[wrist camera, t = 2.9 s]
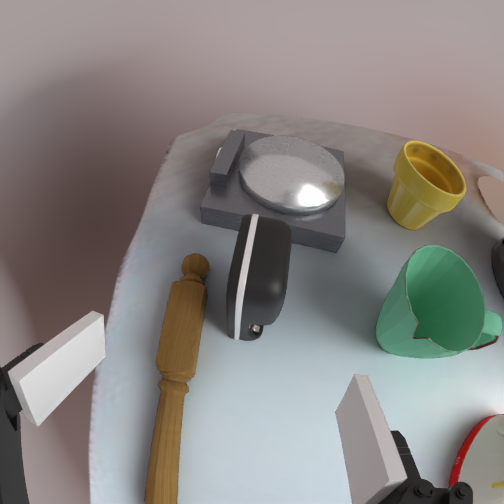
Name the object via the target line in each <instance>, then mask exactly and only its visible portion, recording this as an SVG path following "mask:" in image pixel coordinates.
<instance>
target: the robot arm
mask: <svg viewBox="0 0 504 504" xmlns="http://www.w3.org/2000/svg"><path fill="white" fill-rule="evenodd" d="M492 264H493V270H494V274H495V277H496V280H497V283H498V286H499V288H500V291H501V293H502V295H503V297H504V237H503V238H502V239H501V240H500V241H499V242H498V243H497V244H496V245H495V246H494V248H493V251H492ZM105 357H106V351H105V337H104V316H103V315H102V314H99V313H97V312H94V311H92V312H90V313H89V314H87V315H86V316H84V317H83V318H81V319H80V320H78V321H77V322H76V323H74V324H73V325H71V326H70V327H68V328H67V329H66V330H64V331H63V332H61V333H60V334H58V335H57V336H56V337H54V338H53V339H51V340H50V341H49V342H47V343H46V344H45V345H44V344H43V343H40V344H36V345H33V346H32V347H30V348H29V349H27V350H26V352H23V353H22V354H21V355H20V356H18V357H16V358H15V359H13V360H12V361H11V362H9V363H8V364H7V365H5V366H4V367H2V368H1V367H0V504H29V499H28V494H27V489H26V483H25V476H24V469H23V460H22V448H21V431H20V429H21V426H20V414H19V412H20V411H21V410H23V412H24V414H25V416H26V418H27V419H28V420H29V421H31V422H32V423H34V424H35V425H36V426H39V425H40V424H41V423H42V422H43V421H44V420H45V419H46V417H47V416H49V414H50V413H51V412H52V411H53V410H54V409H55V408H56V407H57V406H58V405H59V404H60V403H61V402H62V401H63V400H64V399H65V398H66V397H67V396H68V394H69V393H70V392H71V391H72V390H73V389H74V388H75V387H76V386H77V385H78V384H79V383H80V382H81V381H82V380H83V379H84V378H85V377H86V376H87V375H88V374H89V373H90V372H91V371H92V370H93V369H94V368H95V367H96V366H97V365H98V364H99V363H100V362H101V361H102V360H103V359H104V358H105ZM335 413H336V418H337V422H338V427H339V432H340V437H341V442H342V448H343V453H344V458H345V464H346V469H347V475H348V481H349V486H350V493H351V499H352V504H473V490H472V488H471V486H470V485H469V484H467V483H465V482H457V483H455V484H453V485H452V486H451V487H450V488H449V489H446V488H434V486H433V485H432V483H430V482H429V481H427V480H424V479H421V477H420V475H419V472H418V470H417V467H416V465H415V462H414V459H413V457H412V455H411V452H410V450H409V448H408V445H407V442H406V440H405V438H404V437H403V436H402V434H401V433H400V432H399V431H398V430H397V431H390V429H389V427H388V424H387V421H386V419H385V416H384V414H383V411H382V409H381V407H380V404H379V402H378V399H377V397H376V394H375V392H374V390H373V387H372V385H371V383H370V380H369V378H368V376H366V375H355V374H354V376H353V378H352V380H351V382H350V384H349V387H348V389H347V391H346V393H345V395H344V397H343V399H342V401H341V403H340V404H339V406H338V408H337V410H336V412H335Z"/></svg>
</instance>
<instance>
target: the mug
mask: <svg viewBox="0 0 504 504" xmlns="http://www.w3.org/2000/svg"><path fill="white" fill-rule="evenodd" d="M501 332H502V318H501V316H500V315H498V314H496V313H494V312H492V311H489V310H485V302H484V296H483V293H482V290H481V287H480V284H479V281H478V280H477V278H476V276H475V274H474V273H473V271H472V269H471V268H470V267H469V266H468V264H467V263H466V262H465V261H464V260H463V259H462V258H461V257H460V256H459V255H457V254H456V253H454V252H453V251H451V250H450V249H448V248H445V247H442V246H439V245H425V246H423V247H421V248H419V249H418V250H416V251H415V252H414V253H413V254H412V255H411V257H410V258H409V259H408V261H407V262H406V263H405V265H404V266H403V267H402V269H401V271H400V273H399V275H398V277H397V279H396V282H395V283H394V285H393V287H392V288H391V290H390V291H389V293H388V294H387V297H386V299H385V302H384V304H383V306H382V309H381V312H380V314H379V317H378V321H377V324H376V331H375V334H376V338H377V341H378V343H379V345H380V346H381V347H382V348H383V349H384V350H385V351H386V352H388V353H391V354H394V355H397V356H403V357H412V358H440V357H447V356H454V355H457V354H459V353H462V352H464V351H466V350H476V349H480V348H483V347H485V346H488V345H491V344H493V343H495V342H497V340H498V338H499V336H500V334H501Z"/></svg>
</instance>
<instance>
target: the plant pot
mask: <svg viewBox="0 0 504 504" xmlns="http://www.w3.org/2000/svg"><path fill="white" fill-rule="evenodd" d="M394 170H395V177H394V181H393V184H392V188H391V191H390V194H389V197H388V201H387V208H388V211H389V213H390V214H391V216H392V217H393V219H394V220H395V221H396V222H397V223H398V224H400V225H401V226H403V227H405V228H407V229H410V230H417V229H420V228H421V227H423V226H424V225H425V224H427V223H428V222H430V221H431V220H432V219H434V218H435V217H436V216H438V215H439V214H441V213H442V212H448V211H450V210H452V209H453V208H454V207H455V206H456V205H457V204H458V202H459V201H460V200H461V199H462V197H463V196H464V195H465V193H466V183H465V180H464V177H463V175H462V174H461V172H460V170H459V169H458V168H457V166H456V165H455V164H454V163H453V162H452V161H451V160H450V159H449V158H448V157H447V156H446V155H445V154H443V153H442V152H441V151H439V150H438V149H436V148H435V147H433V146H431V145H429V144H427V143H424V142H421V141H408V142H406V143H405V144H404V145H403V147H402V148H401V150H400V152H399V154H398V156H397V159H396V161H395V164H394Z"/></svg>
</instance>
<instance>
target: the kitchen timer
mask: <svg viewBox="0 0 504 504" xmlns="http://www.w3.org/2000/svg"><path fill="white" fill-rule="evenodd" d="M457 482H465V483H467V484H469V485H470V486H471V488H472V490H473V504H504V414H498V415H494V416H490V417H488V418H486V419H483V420H482V421H481V422H480V423H479V424H478V425H476V426H475V427H474V428H473V430H472V431H471V432H470V434H469V435H468V436H467V438H466V439H465V441H464V443H463V445H462V447H461V449H460V450H459V452H458V455H457V457H456V460H455V463H454V465H453V468H452V472H451V477H450V481H449V488H450V487H451V486H452V485H453V484H455V483H457Z"/></svg>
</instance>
